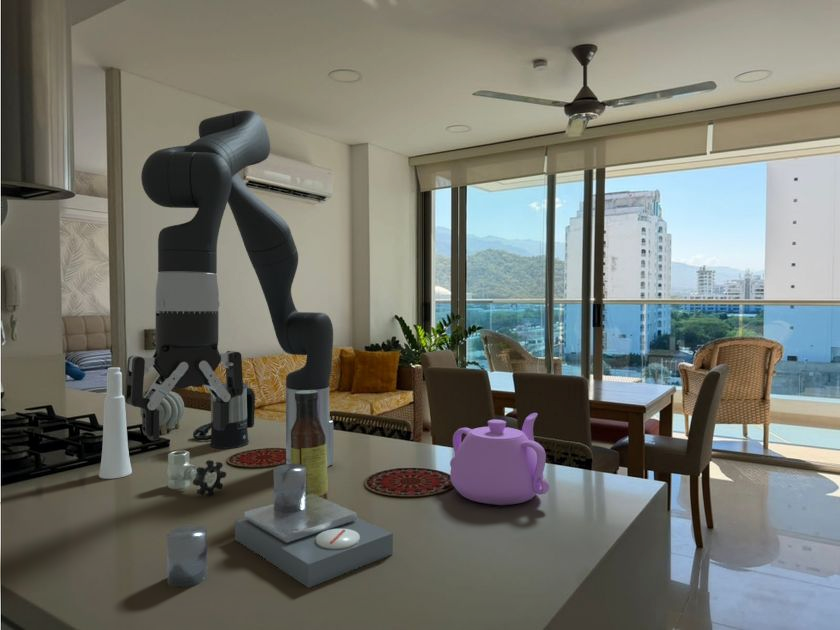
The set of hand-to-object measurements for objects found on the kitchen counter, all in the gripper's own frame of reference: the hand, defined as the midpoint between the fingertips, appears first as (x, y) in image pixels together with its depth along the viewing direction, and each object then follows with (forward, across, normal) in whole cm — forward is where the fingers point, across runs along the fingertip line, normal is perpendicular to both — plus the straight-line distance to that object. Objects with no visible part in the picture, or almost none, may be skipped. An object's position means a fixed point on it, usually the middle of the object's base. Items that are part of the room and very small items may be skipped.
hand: (187, 434), depth 75 cm
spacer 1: (+19, 0, 0) cm, 19 cm away
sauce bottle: (+18, -27, -13) cm, 36 cm away
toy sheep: (+18, -28, -87) cm, 93 cm away
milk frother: (+18, -35, -66) cm, 77 cm away
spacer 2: (+14, -17, -3) cm, 23 cm away
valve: (+19, -15, -34) cm, 42 cm away
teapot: (+18, -57, +7) cm, 60 cm away
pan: (+15, -17, 0) cm, 23 cm away
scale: (+19, -17, +3) cm, 25 cm away
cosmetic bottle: (+19, -7, -54) cm, 58 cm away
